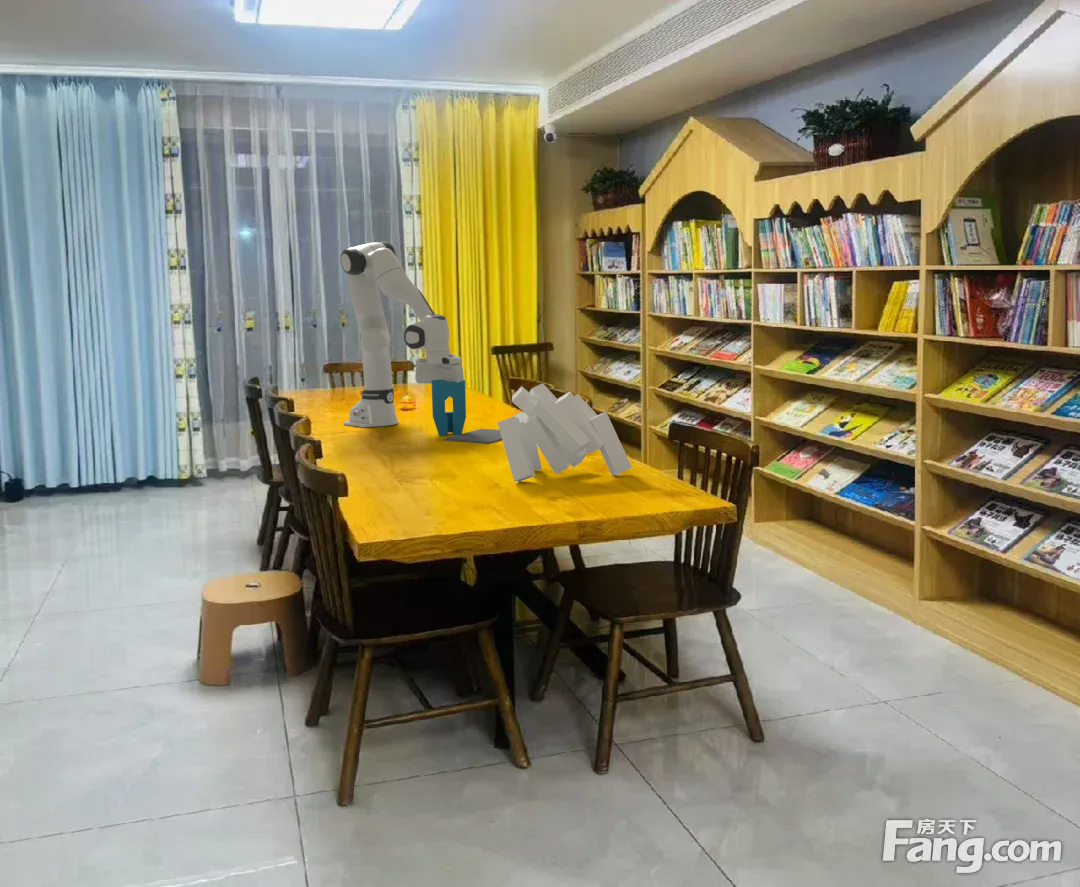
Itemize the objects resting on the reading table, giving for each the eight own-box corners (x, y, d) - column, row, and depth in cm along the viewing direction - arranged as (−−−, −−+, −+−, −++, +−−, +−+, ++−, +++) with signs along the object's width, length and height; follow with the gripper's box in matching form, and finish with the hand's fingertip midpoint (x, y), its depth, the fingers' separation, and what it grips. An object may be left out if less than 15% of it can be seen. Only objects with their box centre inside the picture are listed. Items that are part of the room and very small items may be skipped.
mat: (443, 440, 374) (443, 438, 374) (481, 430, 394) (481, 428, 394) (489, 443, 364) (489, 442, 363) (526, 433, 384) (526, 431, 383)
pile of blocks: (614, 480, 322) (565, 379, 325) (649, 458, 294) (596, 348, 298) (515, 525, 310) (466, 419, 314) (542, 506, 282) (488, 391, 286)
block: (464, 430, 391) (463, 378, 385) (466, 434, 386) (465, 381, 380) (432, 432, 388) (431, 380, 382) (434, 436, 384) (432, 383, 377)
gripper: (410, 358, 387) (412, 395, 390) (455, 360, 376) (456, 398, 379) (421, 357, 392) (423, 393, 395) (465, 358, 382) (467, 395, 384)
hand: (440, 395), depth 387 cm, fingers closed
